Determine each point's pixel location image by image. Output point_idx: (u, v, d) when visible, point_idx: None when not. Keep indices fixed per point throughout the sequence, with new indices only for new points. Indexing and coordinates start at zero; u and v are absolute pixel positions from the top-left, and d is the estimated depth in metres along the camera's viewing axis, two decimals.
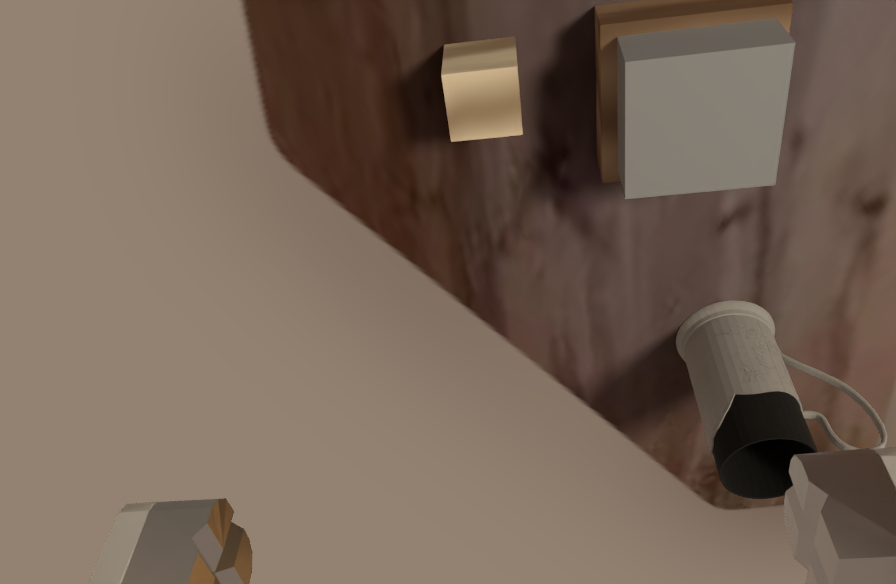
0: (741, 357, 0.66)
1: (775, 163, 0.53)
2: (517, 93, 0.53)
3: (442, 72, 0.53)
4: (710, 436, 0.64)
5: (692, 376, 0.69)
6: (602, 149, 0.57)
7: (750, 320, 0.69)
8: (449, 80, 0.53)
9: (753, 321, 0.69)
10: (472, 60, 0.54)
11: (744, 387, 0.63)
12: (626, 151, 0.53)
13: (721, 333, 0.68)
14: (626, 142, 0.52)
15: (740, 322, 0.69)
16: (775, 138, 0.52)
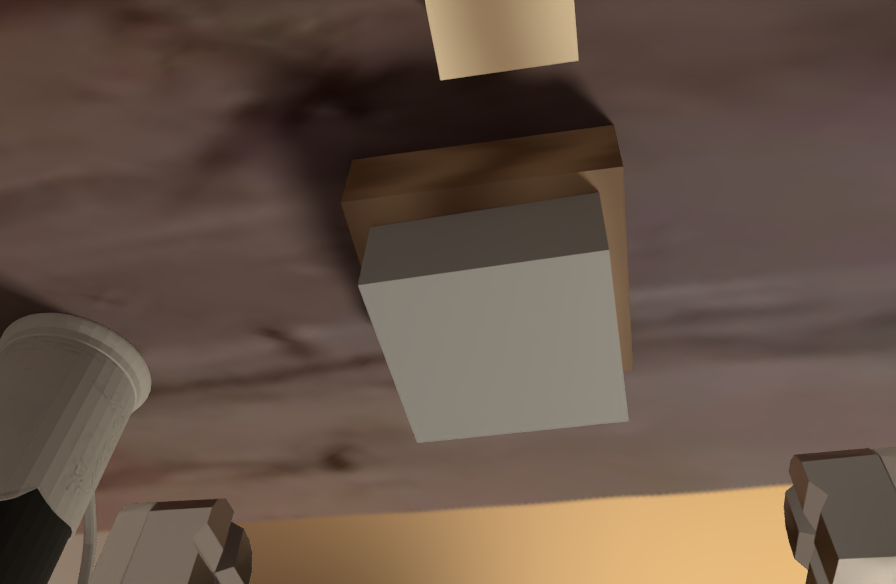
0: (88, 445, 0.41)
1: (450, 436, 0.38)
2: (525, 65, 0.29)
3: None
4: None
5: (7, 384, 0.41)
6: (404, 194, 0.34)
7: (131, 403, 0.46)
8: None
9: (131, 407, 0.46)
10: None
11: (55, 491, 0.39)
12: (448, 274, 0.32)
13: (101, 389, 0.43)
14: (466, 272, 0.31)
15: (125, 396, 0.45)
16: (489, 429, 0.37)
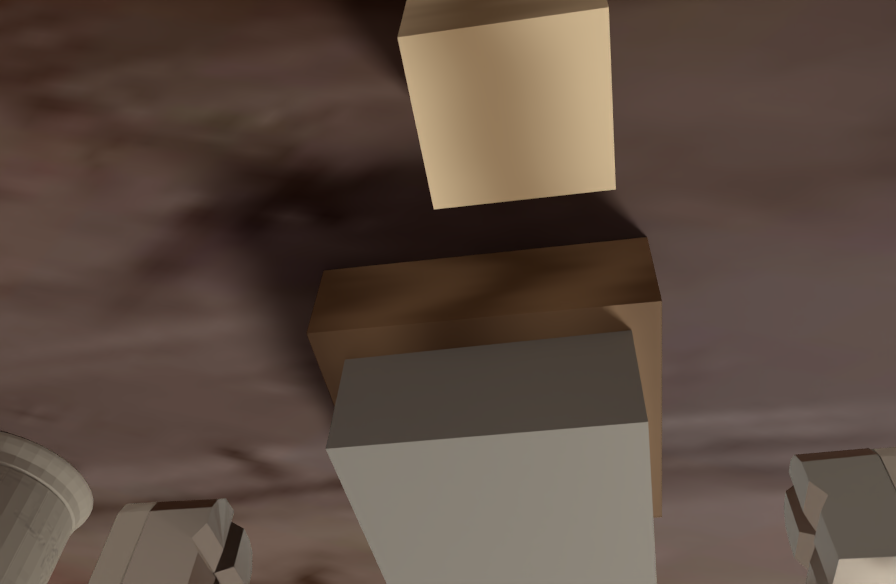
0: None
1: None
2: (545, 193, 0.22)
3: None
4: None
5: None
6: (386, 326, 0.27)
7: (67, 530, 0.39)
8: (590, 30, 0.19)
9: (67, 534, 0.39)
10: None
11: None
12: (441, 440, 0.25)
13: (27, 522, 0.36)
14: (463, 439, 0.25)
15: (58, 523, 0.38)
16: None
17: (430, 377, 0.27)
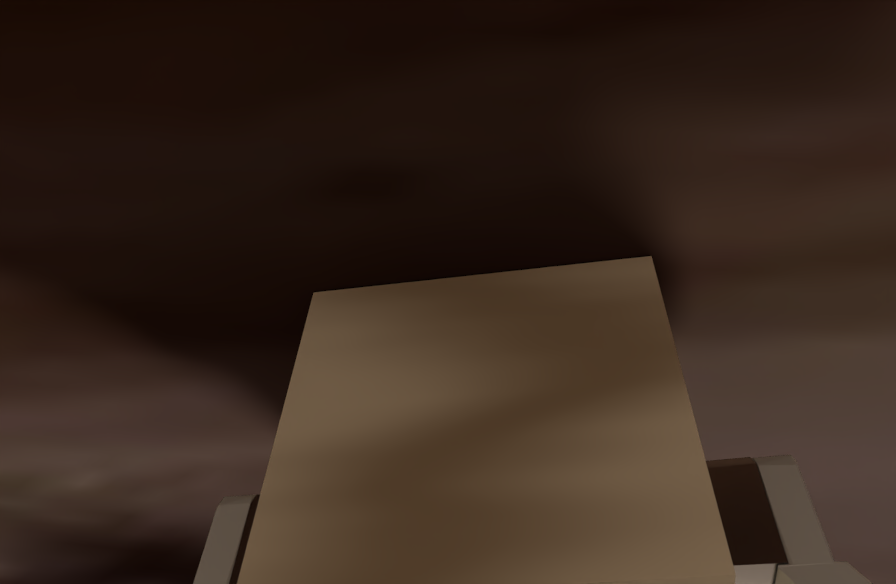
0: None
1: None
2: None
3: (726, 547, 0.08)
4: None
5: None
6: None
7: None
8: None
9: None
10: None
11: None
12: None
13: None
14: None
15: None
16: None
17: None
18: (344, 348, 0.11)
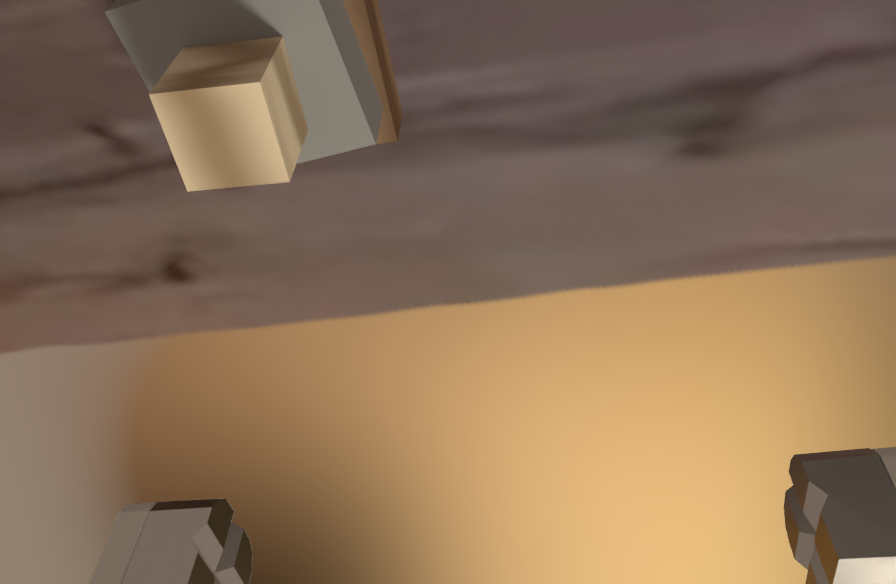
0: None
1: None
2: (249, 183, 0.37)
3: (261, 80, 0.34)
4: None
5: None
6: None
7: None
8: (253, 93, 0.34)
9: None
10: (280, 107, 0.37)
11: None
12: None
13: None
14: None
15: None
16: None
17: None
18: (188, 57, 0.37)
